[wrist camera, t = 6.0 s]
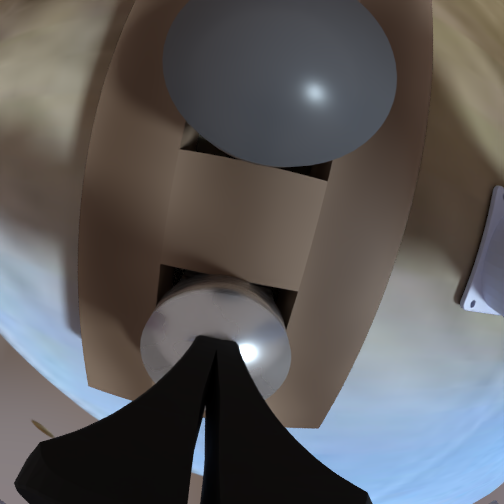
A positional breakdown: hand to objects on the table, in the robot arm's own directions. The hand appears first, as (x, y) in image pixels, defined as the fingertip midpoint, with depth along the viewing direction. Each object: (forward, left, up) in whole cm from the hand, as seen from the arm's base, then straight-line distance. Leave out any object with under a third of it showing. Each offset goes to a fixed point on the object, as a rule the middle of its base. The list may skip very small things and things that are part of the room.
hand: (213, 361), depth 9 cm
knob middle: (0, -9, -2) cm, 9 cm away
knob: (0, 0, -4) cm, 4 cm away
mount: (0, -9, -4) cm, 10 cm away
